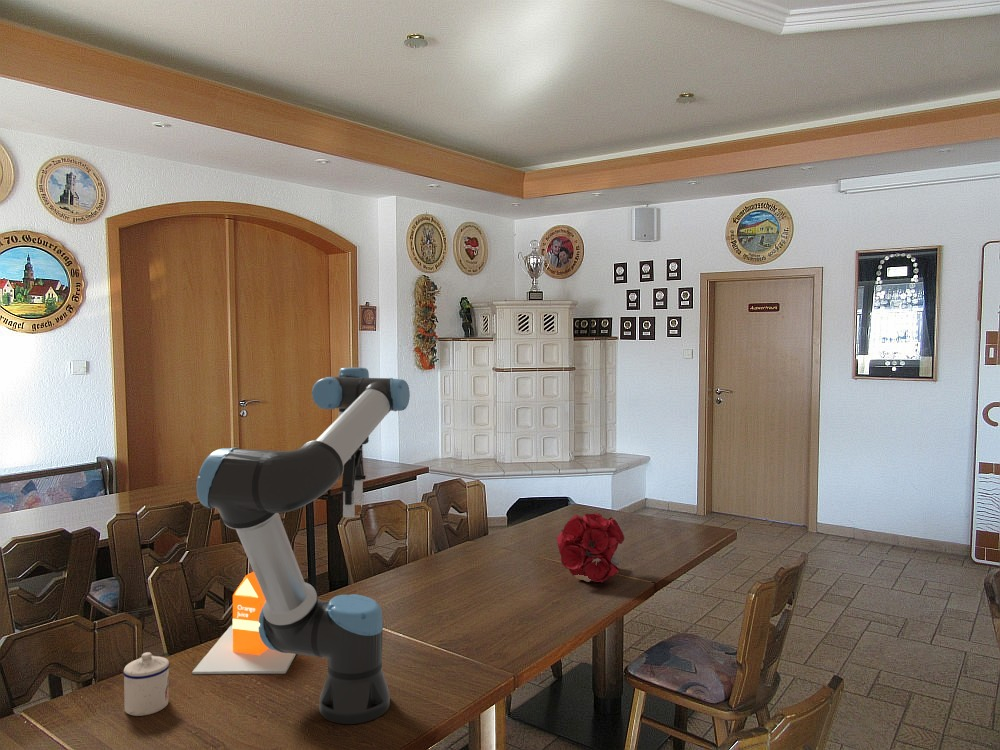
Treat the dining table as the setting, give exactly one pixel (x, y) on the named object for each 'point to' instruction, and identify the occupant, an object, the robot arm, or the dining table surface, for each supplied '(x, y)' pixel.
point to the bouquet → (590, 546)
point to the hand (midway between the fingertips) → (353, 510)
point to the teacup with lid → (146, 685)
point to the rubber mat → (242, 660)
